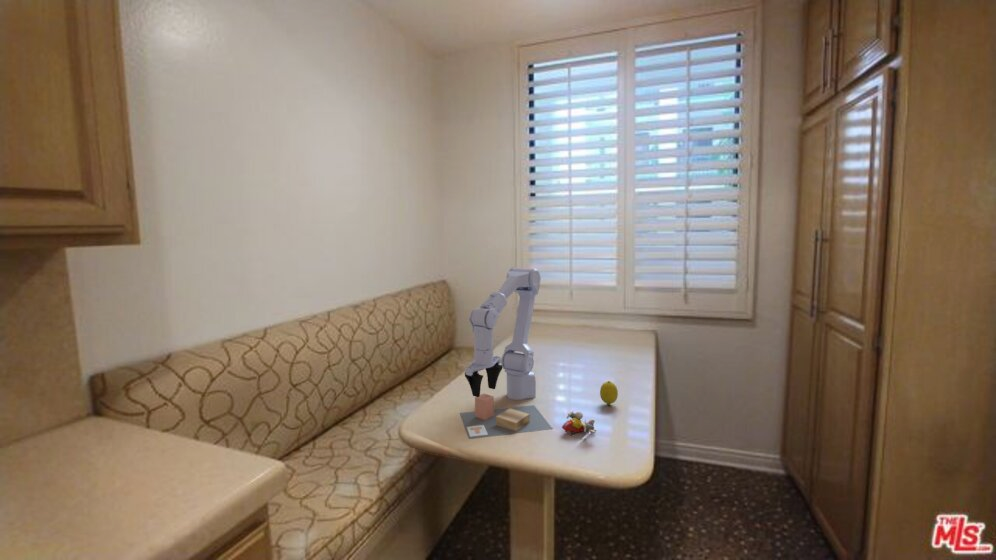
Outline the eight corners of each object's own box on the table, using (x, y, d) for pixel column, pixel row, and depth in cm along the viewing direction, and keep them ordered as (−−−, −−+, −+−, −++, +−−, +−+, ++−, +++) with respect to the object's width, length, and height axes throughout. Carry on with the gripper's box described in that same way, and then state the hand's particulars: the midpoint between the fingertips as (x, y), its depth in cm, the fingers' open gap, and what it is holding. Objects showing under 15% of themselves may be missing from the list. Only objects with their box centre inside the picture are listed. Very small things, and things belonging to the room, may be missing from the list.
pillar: (483, 412, 135) (483, 393, 135) (493, 415, 133) (493, 396, 132) (475, 416, 132) (475, 397, 131) (485, 420, 130) (485, 400, 129)
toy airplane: (560, 437, 120) (561, 415, 120) (568, 424, 129) (569, 403, 128) (594, 444, 117) (594, 421, 116) (600, 429, 125) (600, 408, 124)
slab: (510, 416, 132) (510, 408, 132) (529, 422, 128) (529, 414, 128) (496, 424, 127) (496, 416, 126) (516, 431, 123) (516, 422, 122)
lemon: (617, 402, 144) (618, 379, 143) (616, 409, 138) (617, 384, 138) (600, 400, 145) (601, 377, 144) (598, 407, 140) (599, 383, 139)
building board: (534, 407, 140) (534, 404, 140) (552, 431, 124) (552, 428, 124) (459, 415, 135) (459, 412, 135) (468, 441, 119) (468, 438, 118)
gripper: (488, 340, 138) (488, 382, 140) (457, 351, 127) (458, 396, 128) (506, 344, 134) (506, 387, 136) (476, 355, 122) (476, 402, 124)
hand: (484, 392), depth 132 cm, fingers open, 7 cm apart
